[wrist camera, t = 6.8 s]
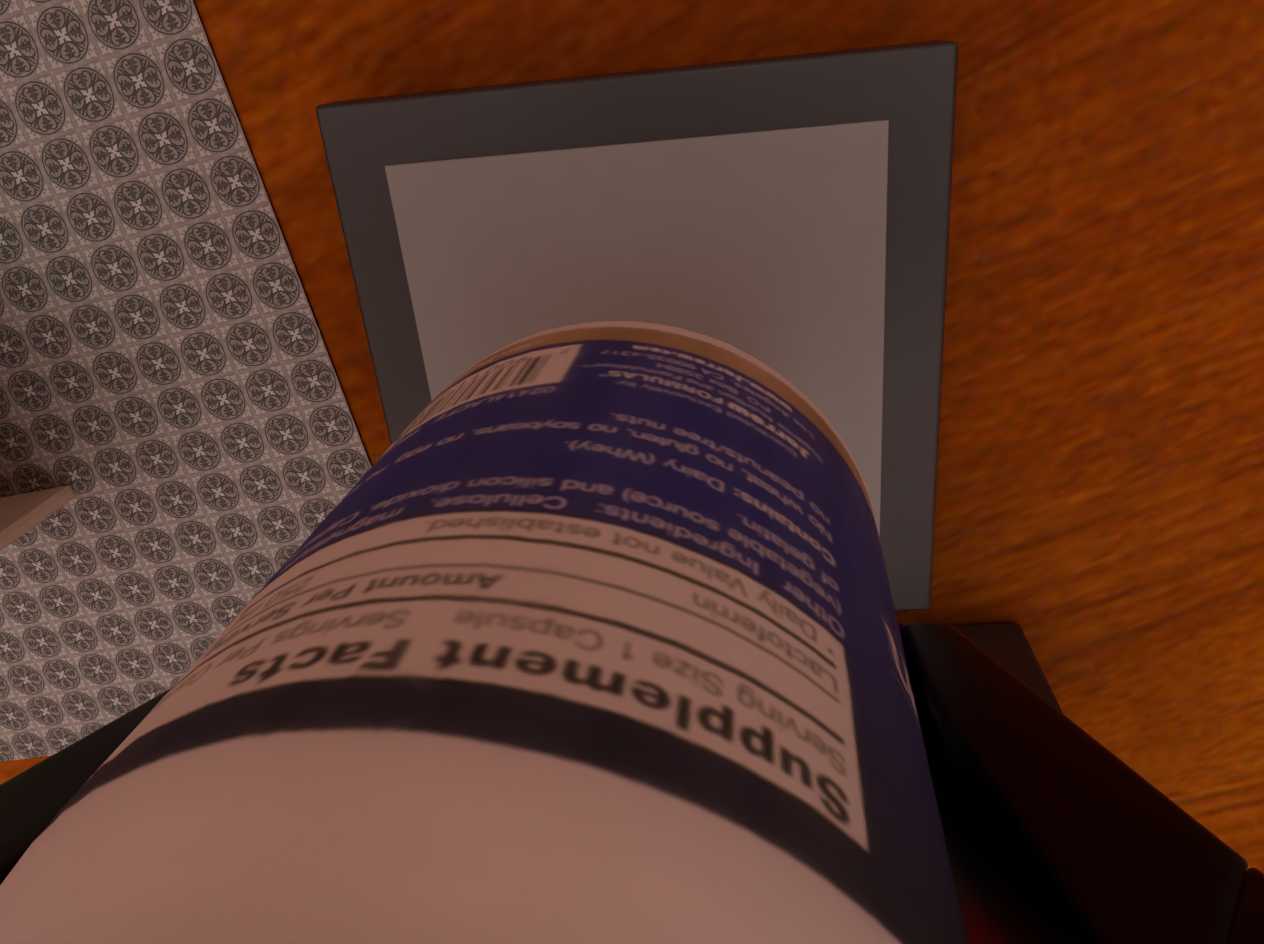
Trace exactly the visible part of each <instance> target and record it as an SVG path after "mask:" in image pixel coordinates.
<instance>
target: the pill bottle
mask: <svg viewBox="0 0 1264 944" xmlns="http://www.w3.org/2000/svg"><path fill="white" fill-rule="evenodd" d="M0 944H969V943H968V939H967V935H966V930H965V926H964V922H963V917H962V913H961V908H960V904H959V900H958V895H957V891H956V887H955V882H954V878H953V873H952V868H951V864H950V859H949V855H948V850H947V846H946V841H945V837H944V832H943V828H942V823H941V819H940V814H939V810H938V805H937V801H936V796H935V792H934V787H933V782H932V778H931V773H930V768H929V764H928V759H927V754H926V750H925V745H924V741H923V736H922V732H921V728H920V723H919V718H918V714H917V709H916V704H915V699H914V695H913V691H912V686H911V682H910V678H909V673H908V668H907V664H906V659H905V654H904V649H903V644H902V639H901V634H900V629H899V625H898V620H897V616H896V611H895V607H894V603H893V598H892V594H891V589H890V585H889V580H888V575H887V570H886V566H885V561H884V556H883V551H882V546H881V542H880V537H879V532H878V528H877V523H876V520H875V516H874V512H873V508H872V505H871V501H870V498H869V494H868V490H867V487H866V484H865V482H864V479H863V477H862V474H861V472H860V469H859V467H858V465H857V463H856V461H855V460H854V458H853V456H852V454H851V452H850V451H849V449H848V447H847V445H846V444H845V442H844V441H843V439H842V437H841V436H840V435H839V433H838V432H837V431H836V429H835V428H834V427H833V425H832V424H831V423H830V421H829V420H828V419H827V418H826V417H825V416H824V414H823V413H822V412H821V411H820V410H819V409H818V407H817V406H816V405H815V404H814V403H813V402H812V401H811V400H810V399H809V398H808V397H807V396H806V395H805V394H803V393H802V392H801V391H800V390H799V389H798V388H797V387H795V386H794V385H793V384H792V383H790V382H789V381H788V380H787V379H785V378H784V377H783V376H782V375H781V374H779V373H778V372H776V371H775V370H773V369H772V368H770V367H769V366H767V365H766V364H764V363H763V362H761V361H760V360H758V359H757V358H755V357H753V356H751V355H749V354H747V353H745V352H743V351H742V350H740V349H738V348H736V347H734V346H732V345H730V344H727V343H725V342H722V341H720V340H717V339H715V338H712V337H710V336H707V335H703V334H700V333H696V332H693V331H689V330H686V329H682V328H678V327H673V326H668V325H662V324H655V323H646V322H637V321H601V322H590V323H582V324H576V325H569V326H564V327H559V328H554V329H550V330H545V331H542V332H539V333H536V334H533V335H530V336H528V337H525V338H522V339H520V340H517V341H515V342H513V343H511V344H509V345H507V346H504V347H502V348H500V349H498V350H497V351H495V352H493V353H491V354H490V355H488V356H486V357H485V358H483V359H482V360H480V361H479V362H477V363H476V364H474V365H473V366H471V367H470V368H469V369H468V370H466V371H465V372H464V373H463V374H462V375H460V376H459V377H458V378H457V379H456V380H454V381H453V382H452V383H451V384H450V385H449V386H448V387H447V388H445V389H444V390H443V391H442V392H441V393H440V394H439V395H438V396H436V397H435V398H434V399H433V400H432V401H431V403H430V404H429V405H428V406H427V407H426V408H425V409H424V410H423V411H422V412H421V413H420V414H419V415H418V417H417V418H416V419H415V420H414V421H413V422H412V423H411V424H410V425H409V426H408V427H407V428H406V429H405V430H404V431H403V432H402V434H401V435H400V436H399V437H398V439H397V440H396V441H395V442H394V443H393V444H392V445H391V446H390V447H389V448H388V449H387V450H386V451H385V452H384V453H383V454H382V455H381V456H380V457H379V458H378V460H377V461H376V462H375V464H374V465H373V466H372V467H371V468H370V469H369V471H368V472H367V473H366V474H365V475H364V476H363V477H362V478H361V479H360V480H359V482H358V483H357V484H356V485H355V486H354V487H353V488H352V489H351V490H350V492H349V493H348V494H347V495H346V496H345V497H344V498H343V499H342V500H341V501H340V503H339V504H338V505H337V506H336V507H335V508H334V509H333V510H332V511H331V512H330V514H329V515H328V516H327V517H326V518H325V519H324V520H323V521H322V522H321V523H320V525H319V526H318V527H317V528H316V529H315V530H314V531H313V533H312V534H311V535H310V536H309V537H308V538H307V539H306V541H305V542H304V543H303V544H302V545H301V546H300V547H299V549H298V550H297V551H296V552H295V553H294V554H293V555H292V556H291V557H290V558H289V559H288V561H287V562H286V563H285V564H284V565H283V566H282V567H281V568H280V569H279V570H278V571H277V572H276V573H275V574H274V575H273V576H272V578H271V579H270V580H269V581H268V582H267V583H266V584H265V586H264V587H263V588H262V589H261V590H260V592H259V593H258V594H257V595H256V596H255V597H254V598H253V599H252V600H251V601H250V602H249V604H248V605H247V606H246V607H245V608H244V609H243V610H242V611H241V612H240V613H239V614H238V615H237V617H236V618H235V619H234V620H233V621H232V623H231V624H230V625H229V626H228V627H227V628H226V629H225V630H224V631H223V632H222V634H221V635H220V636H219V637H218V638H217V639H216V640H215V641H214V642H213V643H212V644H211V645H210V646H209V648H208V649H207V650H206V651H205V652H204V653H203V654H202V656H201V657H200V658H199V659H198V660H197V661H196V662H195V663H194V664H193V665H192V666H191V668H190V669H189V670H188V671H187V672H186V673H185V674H184V675H183V676H182V677H181V678H180V680H179V681H178V682H177V683H176V684H175V685H174V687H173V688H172V689H171V690H170V691H169V692H168V693H167V694H166V695H165V696H164V697H163V698H162V699H161V700H160V702H159V703H158V704H157V705H156V706H155V707H154V708H153V709H152V711H151V712H150V713H149V714H148V715H147V716H146V717H145V718H144V719H143V720H142V722H141V723H140V724H139V725H138V726H137V727H136V728H135V729H134V730H133V731H132V732H131V734H130V735H129V736H128V737H127V738H126V739H125V740H124V741H123V742H122V743H121V744H120V746H119V747H118V748H117V749H116V750H115V751H114V752H113V753H112V754H111V755H110V756H109V758H108V759H107V760H106V761H105V762H104V763H103V764H102V765H101V766H100V767H99V768H98V770H97V771H96V772H95V773H94V774H93V775H92V776H91V777H90V778H89V780H88V781H87V782H86V783H85V784H84V785H83V786H82V787H81V789H80V790H79V791H78V792H77V793H76V794H75V795H74V796H73V797H72V798H71V799H70V800H69V801H68V802H67V803H66V804H65V805H64V806H63V807H62V809H61V810H60V811H59V812H58V813H57V815H56V816H55V817H54V818H53V820H52V821H51V822H50V823H49V825H48V826H47V827H46V828H45V830H44V831H43V832H42V833H41V834H40V835H39V836H38V837H37V838H36V839H35V840H34V841H33V843H32V844H31V845H30V846H29V848H28V849H27V850H26V852H25V853H24V854H23V856H22V857H21V858H20V860H19V861H18V862H17V864H16V865H15V866H14V868H13V869H12V870H11V872H10V873H9V874H8V876H7V877H6V878H5V880H4V881H3V883H2V884H1V885H0Z"/></svg>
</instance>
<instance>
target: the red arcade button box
mask: <svg viewBox="0 0 1264 944" xmlns="http://www.w3.org/2000/svg"><path fill="white" fill-rule="evenodd" d="M952 626H953V627H955V628H956V629H957V630H958V631H960V632H961V633H962V634H963V635H965V636H966V637H967V638H968V639H970V640H971V641H972V642H973V643H975V644H976V645H977V646H978V647H980V648H981V649H982V650H983V651H985V652H986V653H987V654H988V655H990V656H991V657H992V658H993V659H995V660H996V661H997V662H998V663H1000V664H1001V665H1002V666H1003V667H1005V668H1006V669H1007V670H1008V671H1010V672H1011V673H1012V674H1013V675H1015V676H1016V677H1017V678H1018V679H1020V680H1021V681H1022V682H1023V683H1025V684H1026V685H1027V686H1028V687H1030V688H1031V689H1032V690H1033V691H1035V692H1036V693H1037V694H1038V695H1040V696H1041V697H1042V698H1043V699H1045V700H1046V701H1047V702H1048V703H1050V704H1051V705H1052V706H1053V707H1055V708H1056V709H1057V710H1058V711H1060V712H1061V713H1062V711H1061V708H1060V706H1059V704H1058V702H1057V700H1056V698H1055V696H1054V694H1053V692H1052V690H1051V688H1050V686H1049V684H1048V682H1047V680H1046V678H1045V676H1044V674H1043V672H1042V670H1041V668H1040V666H1039V663H1038V661H1037V659H1036V657H1035V655H1034V653H1033V651H1032V649H1031V647H1030V645H1029V643H1028V641H1027V639H1026V637H1025V635H1024V633H1023V631H1022V629H1021V627H1020V625H1019V624H981V625H952ZM902 627H903V626H899V629H900V631H901V629H902ZM1062 714H1063V713H1062Z"/></svg>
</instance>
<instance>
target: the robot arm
mask: <svg viewBox="0 0 1264 944" xmlns="http://www.w3.org/2000/svg"><path fill="white" fill-rule="evenodd" d="M900 634H901V639H902V644H903V649H904V654H905V659H906V664H907V668H908V673H909V678H910V682H911V686H912V691H913V695H914V699H915V704H916V709H917V714H918V718H919V723H920V728H921V732H922V736H923V741H924V745H925V750H926V754H927V759H928V764H929V768H930V773H931V778H932V782H933V787H934V792H935V796H936V801H937V805H938V810H939V814H940V819H941V823H942V828H943V832H944V837H945V841H946V846H947V850H948V855H949V859H950V864H951V868H952V873H953V878H954V882H955V887H956V891H957V895H958V900H959V904H960V908H961V913H962V917H963V922H964V926H965V930H966V935H967V939H968V943H969V944H1264V874H1263V873H1262V872H1261V871H1259V870H1258V869H1256V868H1250V869H1248V870H1247V867H1248V864H1247V862H1246V860H1245V859H1244V858H1242V857H1241V856H1240V855H1239V854H1237V853H1236V852H1235V851H1234V850H1232V849H1231V848H1230V847H1229V846H1227V845H1226V844H1225V843H1224V842H1222V841H1221V840H1220V839H1219V838H1217V837H1216V836H1215V835H1214V834H1212V833H1211V832H1210V831H1209V830H1207V829H1206V828H1205V827H1204V826H1202V825H1201V824H1200V823H1199V822H1197V821H1196V820H1195V819H1194V818H1192V817H1191V816H1190V815H1189V814H1187V813H1186V812H1185V811H1184V810H1182V809H1181V808H1180V807H1179V806H1177V805H1176V804H1175V803H1174V802H1172V801H1171V800H1170V799H1169V798H1167V797H1166V796H1165V795H1164V794H1162V793H1161V792H1160V791H1159V790H1157V789H1156V788H1155V787H1154V786H1152V785H1151V784H1150V783H1149V782H1147V781H1146V780H1145V779H1144V778H1142V777H1141V776H1140V775H1139V774H1137V773H1136V772H1135V771H1134V770H1132V769H1131V768H1130V767H1129V766H1127V765H1126V764H1125V763H1124V762H1122V761H1121V760H1120V759H1118V758H1117V757H1116V756H1115V755H1113V754H1112V753H1111V752H1110V751H1108V750H1107V749H1106V748H1105V747H1103V746H1102V745H1101V744H1100V743H1098V742H1097V741H1096V740H1095V739H1093V738H1092V737H1091V736H1090V735H1088V734H1087V733H1086V732H1085V731H1083V730H1082V729H1081V728H1080V727H1078V726H1077V725H1076V724H1075V723H1073V722H1072V721H1071V720H1070V719H1068V718H1067V717H1066V716H1065V715H1063V714H1062V713H1061V712H1060V711H1058V710H1057V709H1056V708H1055V707H1053V706H1052V705H1051V704H1050V703H1048V702H1047V701H1046V700H1045V699H1043V698H1042V697H1041V696H1040V695H1038V694H1037V693H1036V692H1035V691H1033V690H1032V689H1031V688H1030V687H1028V686H1027V685H1026V684H1025V683H1023V682H1022V681H1021V680H1020V679H1018V678H1017V677H1016V676H1015V675H1013V674H1012V673H1011V672H1010V671H1008V670H1007V669H1006V668H1005V667H1003V666H1002V665H1001V664H1000V663H998V662H997V661H996V660H995V659H993V658H992V657H991V656H990V655H988V654H987V653H986V652H985V651H983V650H982V649H981V648H980V647H978V646H977V645H976V644H975V643H973V642H972V641H971V640H970V639H968V638H967V637H966V636H965V635H963V634H962V633H961V632H960V631H958V630H957V629H956V628H955V627H953V626H952V625H950V624H948V623H945V622H925V623H906V624H905V625H903V627H902V629H901V631H900ZM172 688H173V687H172ZM172 688H170V689H168V690H167V691H165V692H163V693H161V694H160V695H158V696H156V697H154V698H153V699H151V700H149V701H147V702H146V703H144V704H142V705H140V706H139V707H137V708H135V709H133V710H132V711H130V712H128V713H126V714H125V715H123V716H121V717H119V718H117V719H116V720H114V721H112V722H110V723H109V724H107V725H105V726H103V727H102V728H100V729H98V730H96V731H95V732H93V733H91V734H89V735H88V736H86V737H84V738H82V739H81V740H79V741H77V742H75V743H74V744H72V745H70V746H68V747H66V748H65V749H63V750H61V751H59V752H58V753H56V754H54V755H52V756H51V757H49V758H47V759H45V760H44V761H42V762H40V763H38V764H37V765H35V766H33V767H31V768H30V769H28V770H26V771H24V772H23V773H21V774H19V775H17V776H15V777H14V778H12V779H10V780H8V781H7V782H5V783H3V784H1V785H0V885H1V884H2V883H3V881H4V880H5V878H6V877H7V876H8V874H9V873H10V872H11V870H12V869H13V868H14V866H15V865H16V864H17V862H18V861H19V860H20V858H21V857H22V856H23V854H24V853H25V852H26V850H27V849H28V848H29V846H30V845H31V844H32V843H33V841H34V840H35V839H36V838H37V837H38V836H39V835H40V834H41V833H42V832H43V831H44V830H45V828H46V827H47V826H48V825H49V823H50V822H51V821H52V820H53V818H54V817H55V816H56V815H57V813H58V812H59V811H60V810H61V809H62V807H63V806H64V805H65V804H66V803H67V802H68V801H69V800H70V799H71V798H72V797H73V796H74V795H75V794H76V793H77V792H78V791H79V790H80V789H81V787H82V786H83V785H84V784H85V783H86V782H87V781H88V780H89V778H90V777H91V776H92V775H93V774H94V773H95V772H96V771H97V770H98V768H99V767H100V766H101V765H102V764H103V763H104V762H105V761H106V760H107V759H108V758H109V756H110V755H111V754H112V753H113V752H114V751H115V750H116V749H117V748H118V747H119V746H120V744H121V743H122V742H123V741H124V740H125V739H126V738H127V737H128V736H129V735H130V734H131V732H132V731H133V730H134V729H135V728H136V727H137V726H138V725H139V724H140V723H141V722H142V720H143V719H144V718H145V717H146V716H147V715H148V714H149V713H150V712H151V711H152V709H153V708H154V707H155V706H156V705H157V704H158V703H159V702H160V700H161V699H162V698H163V697H164V696H165V695H166V694H167V693H168V692H169V691H170V690H171V689H172ZM1246 871H1247V872H1246Z"/></svg>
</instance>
